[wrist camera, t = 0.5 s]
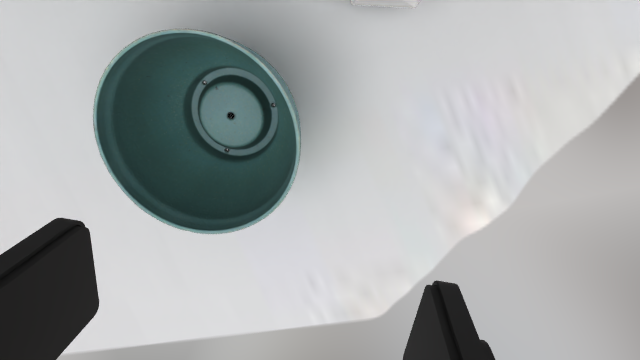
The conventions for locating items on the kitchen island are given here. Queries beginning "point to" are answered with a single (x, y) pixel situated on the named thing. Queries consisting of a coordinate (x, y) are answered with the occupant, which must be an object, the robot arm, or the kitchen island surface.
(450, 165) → the kitchen island surface
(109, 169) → the flower pot
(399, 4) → the die
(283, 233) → the kitchen island surface
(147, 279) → the kitchen island surface
